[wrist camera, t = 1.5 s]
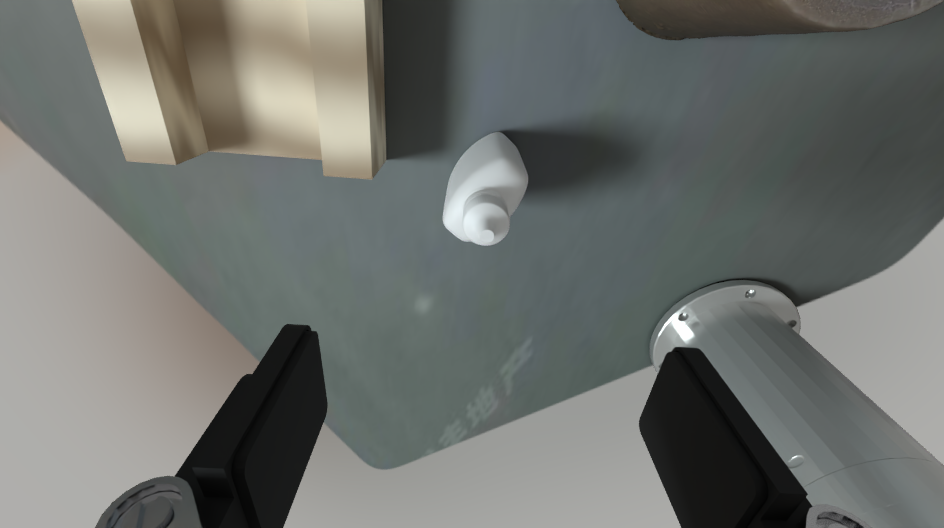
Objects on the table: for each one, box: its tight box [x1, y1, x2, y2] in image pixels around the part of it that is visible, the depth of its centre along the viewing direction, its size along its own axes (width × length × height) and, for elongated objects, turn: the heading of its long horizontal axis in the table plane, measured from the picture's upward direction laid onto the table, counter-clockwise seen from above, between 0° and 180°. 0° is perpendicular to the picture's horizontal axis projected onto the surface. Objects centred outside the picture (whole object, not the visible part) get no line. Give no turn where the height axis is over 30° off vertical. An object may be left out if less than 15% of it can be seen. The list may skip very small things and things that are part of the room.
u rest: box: [72, 0, 386, 179], centre depth 24 cm, size 13×15×5 cm
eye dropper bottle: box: [443, 132, 528, 246], centre depth 24 cm, size 4×6×12 cm
